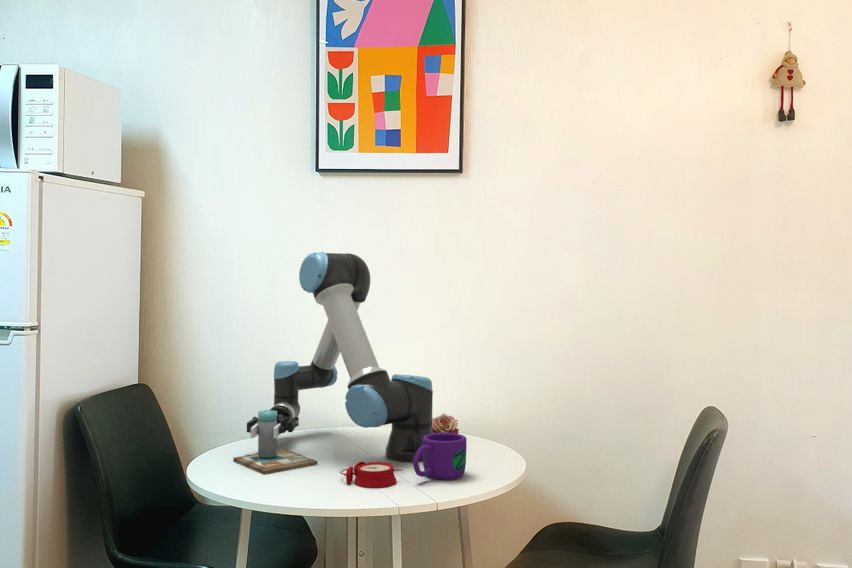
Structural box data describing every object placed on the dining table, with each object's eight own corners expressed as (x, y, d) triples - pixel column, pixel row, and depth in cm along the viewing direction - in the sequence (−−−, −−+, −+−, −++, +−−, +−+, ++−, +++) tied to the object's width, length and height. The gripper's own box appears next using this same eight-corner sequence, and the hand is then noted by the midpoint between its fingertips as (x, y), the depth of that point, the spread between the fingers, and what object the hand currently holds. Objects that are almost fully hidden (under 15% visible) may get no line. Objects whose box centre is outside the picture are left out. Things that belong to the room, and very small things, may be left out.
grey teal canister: (280, 455, 194) (280, 412, 194) (263, 458, 191) (263, 414, 191) (271, 452, 198) (271, 409, 198) (254, 455, 195) (254, 411, 195)
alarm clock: (390, 476, 168) (335, 456, 174) (384, 501, 169) (330, 480, 174) (407, 465, 178) (355, 447, 183) (401, 489, 178) (350, 470, 184)
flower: (423, 432, 226) (425, 415, 222) (448, 424, 230) (451, 407, 226) (437, 454, 220) (440, 437, 215) (463, 446, 224) (466, 428, 219)
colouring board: (317, 464, 193) (317, 459, 193) (264, 474, 182) (264, 469, 182) (284, 452, 206) (284, 447, 206) (233, 461, 196) (233, 456, 196)
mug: (442, 467, 190) (442, 430, 190) (475, 475, 182) (475, 436, 182) (397, 480, 177) (397, 440, 177) (431, 489, 169) (431, 447, 169)
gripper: (310, 429, 213) (297, 447, 189) (249, 429, 212) (229, 447, 189) (310, 404, 213) (297, 419, 189) (249, 404, 212) (229, 419, 189)
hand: (263, 433), depth 189 cm, fingers open, 5 cm apart
